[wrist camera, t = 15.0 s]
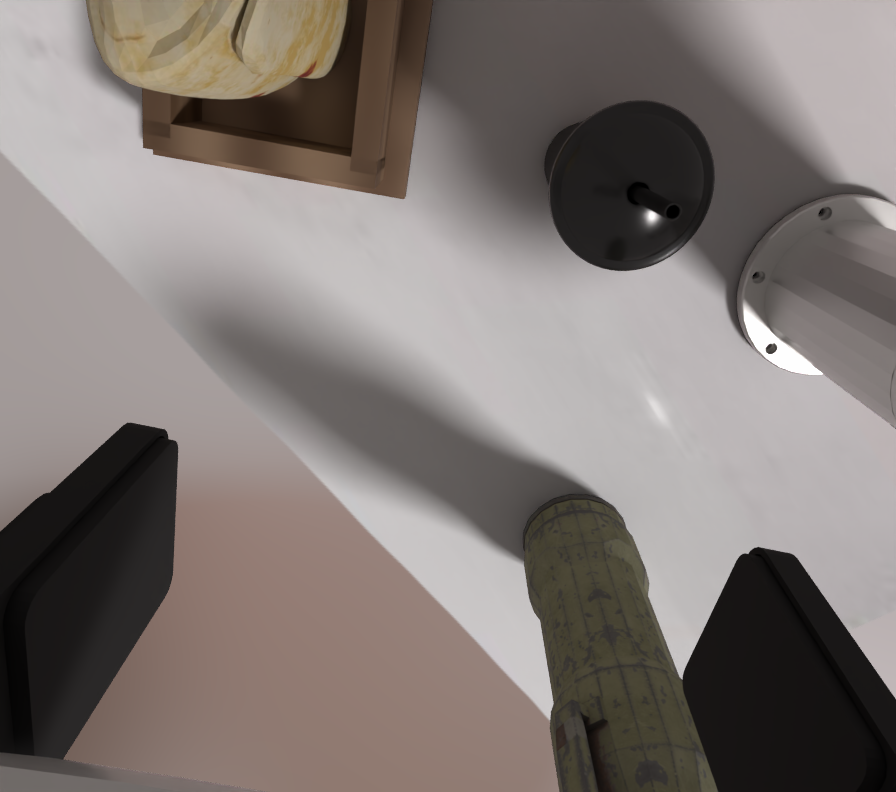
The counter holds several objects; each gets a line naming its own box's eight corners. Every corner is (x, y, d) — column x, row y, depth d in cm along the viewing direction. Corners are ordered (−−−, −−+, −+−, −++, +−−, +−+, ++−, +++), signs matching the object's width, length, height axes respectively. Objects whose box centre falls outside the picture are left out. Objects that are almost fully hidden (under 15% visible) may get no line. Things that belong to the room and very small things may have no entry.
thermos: (594, 604, 58) (762, 1214, 27) (486, 539, 56) (531, 1133, 24) (663, 537, 55) (947, 1134, 24) (553, 465, 53) (707, 1032, 21)
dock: (452, -135, 37) (451, -178, 31) (405, 196, 44) (398, 211, 38) (160, -196, 36) (103, -254, 30) (162, 152, 43) (116, 161, 37)
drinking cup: (504, 198, 44) (538, 269, 26) (552, 79, 41) (629, 66, 23) (607, 239, 45) (710, 336, 27) (661, 127, 42) (817, 150, 24)
